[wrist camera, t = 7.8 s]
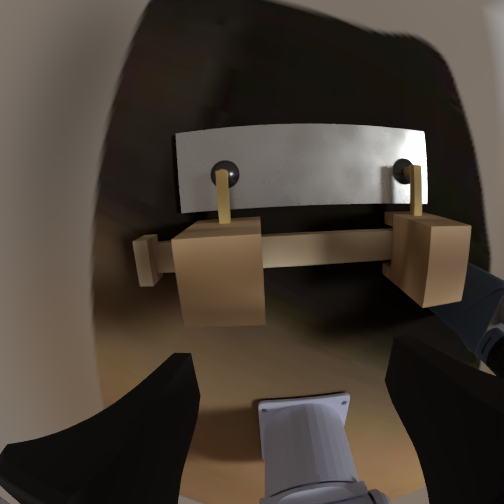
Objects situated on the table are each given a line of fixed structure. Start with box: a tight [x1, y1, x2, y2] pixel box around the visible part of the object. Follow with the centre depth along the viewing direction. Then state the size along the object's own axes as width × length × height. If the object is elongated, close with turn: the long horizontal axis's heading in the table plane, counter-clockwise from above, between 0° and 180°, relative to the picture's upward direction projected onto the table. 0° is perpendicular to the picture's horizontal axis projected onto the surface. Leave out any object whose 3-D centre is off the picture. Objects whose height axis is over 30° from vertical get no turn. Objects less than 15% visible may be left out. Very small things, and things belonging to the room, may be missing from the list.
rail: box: [132, 228, 393, 286], centre depth 18 cm, size 3×22×2 cm, turn 94°
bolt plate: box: [176, 124, 427, 213], centre depth 17 cm, size 5×17×1 cm, turn 94°
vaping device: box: [428, 263, 504, 378], centre depth 13 cm, size 3×5×12 cm, turn 162°
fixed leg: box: [382, 165, 471, 308], centre depth 15 cm, size 8×3×6 cm, turn 4°
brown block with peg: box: [171, 169, 266, 327], centre depth 15 cm, size 8×4×6 cm, turn 4°
